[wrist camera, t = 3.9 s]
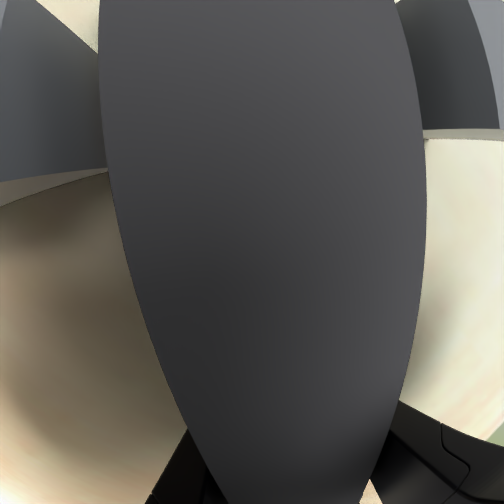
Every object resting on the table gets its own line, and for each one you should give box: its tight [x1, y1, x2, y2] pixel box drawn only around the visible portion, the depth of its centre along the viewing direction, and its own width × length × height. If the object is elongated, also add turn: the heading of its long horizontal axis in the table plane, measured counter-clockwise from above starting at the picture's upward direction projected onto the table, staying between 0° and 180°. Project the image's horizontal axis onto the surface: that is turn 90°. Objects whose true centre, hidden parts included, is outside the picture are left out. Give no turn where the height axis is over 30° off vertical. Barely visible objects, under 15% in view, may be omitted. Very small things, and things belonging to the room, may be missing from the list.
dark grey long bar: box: [98, 0, 427, 504], centre depth 5 cm, size 4×17×4 cm, turn 7°
